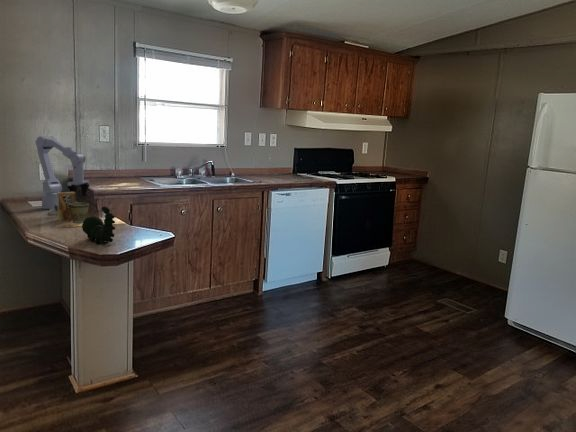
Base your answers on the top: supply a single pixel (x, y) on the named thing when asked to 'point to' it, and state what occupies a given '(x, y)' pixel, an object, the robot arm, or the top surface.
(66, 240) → the top surface
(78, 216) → the ceramic cup
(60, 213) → the candy box
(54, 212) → the fader board
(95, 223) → the toy figurine
